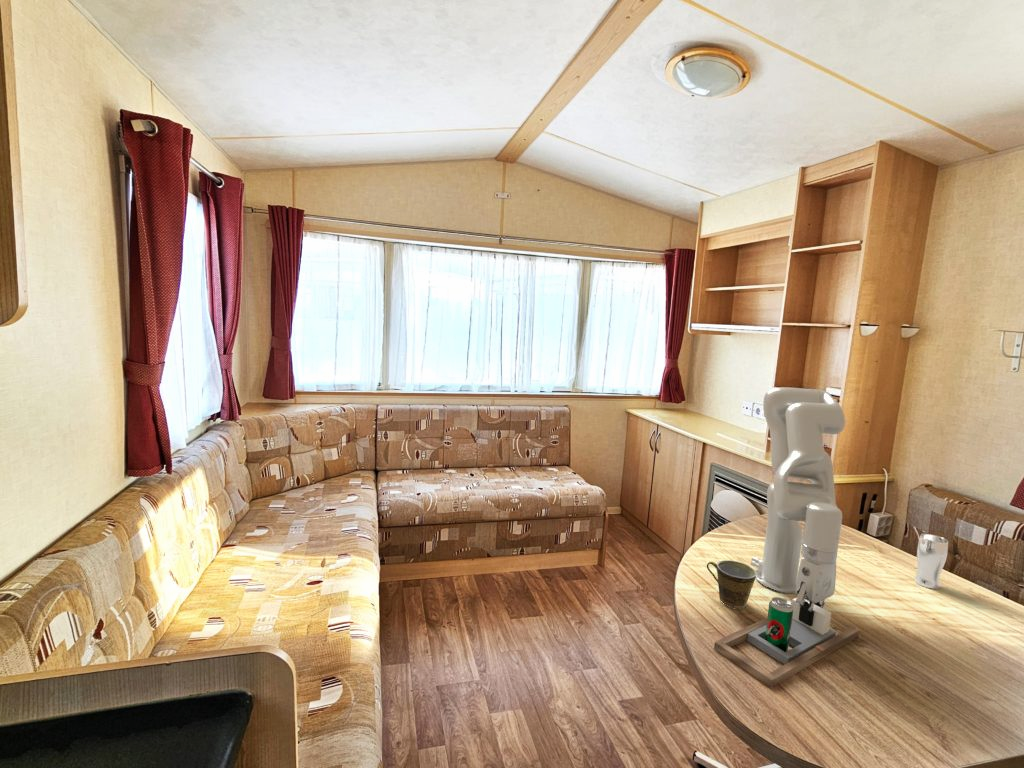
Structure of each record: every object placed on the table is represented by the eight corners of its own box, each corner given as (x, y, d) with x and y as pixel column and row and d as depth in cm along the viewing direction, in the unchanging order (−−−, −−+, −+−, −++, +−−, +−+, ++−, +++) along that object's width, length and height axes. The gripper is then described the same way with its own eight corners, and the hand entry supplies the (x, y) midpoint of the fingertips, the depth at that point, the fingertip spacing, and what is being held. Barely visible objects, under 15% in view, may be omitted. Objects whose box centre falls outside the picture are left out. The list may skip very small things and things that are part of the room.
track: (713, 648, 117) (714, 640, 117) (801, 607, 136) (802, 600, 136) (771, 688, 105) (772, 679, 105) (858, 636, 124) (859, 629, 124)
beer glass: (917, 586, 150) (924, 540, 148) (908, 576, 157) (916, 531, 155) (945, 592, 148) (953, 545, 146) (935, 581, 154) (943, 536, 152)
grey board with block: (746, 640, 120) (750, 614, 119) (795, 617, 131) (798, 593, 130) (787, 666, 112) (790, 638, 111) (835, 639, 122) (838, 613, 121)
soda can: (791, 657, 115) (797, 609, 114) (768, 653, 116) (774, 606, 114) (783, 643, 120) (789, 597, 118) (761, 640, 121) (766, 594, 119)
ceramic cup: (757, 603, 137) (761, 569, 136) (745, 617, 130) (749, 582, 129) (710, 584, 146) (714, 553, 145) (697, 597, 139) (700, 564, 137)
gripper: (816, 566, 115) (806, 638, 117) (852, 552, 123) (842, 620, 126) (784, 552, 121) (776, 621, 124) (821, 540, 130) (812, 605, 132)
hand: (809, 620), depth 125 cm, fingers closed on grey board with block, 3 cm apart
